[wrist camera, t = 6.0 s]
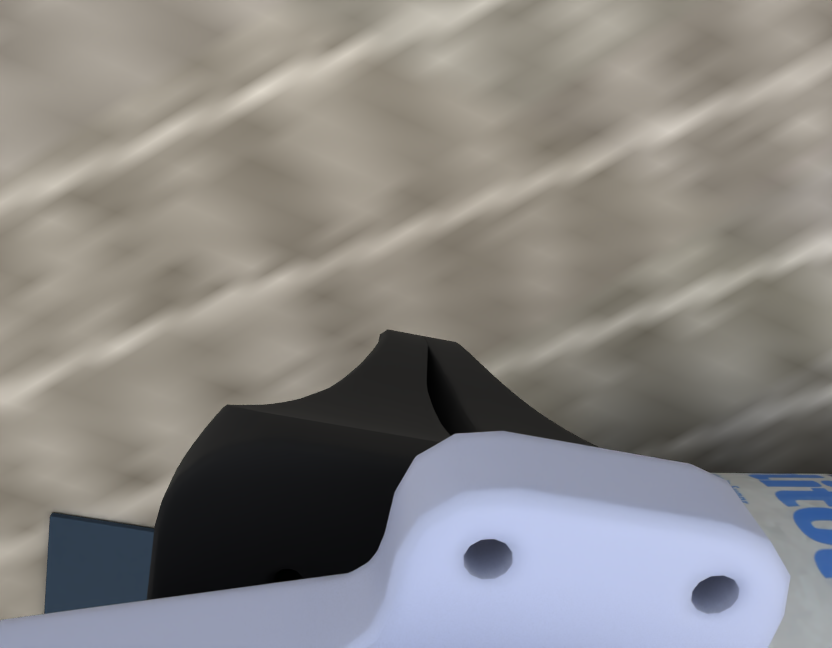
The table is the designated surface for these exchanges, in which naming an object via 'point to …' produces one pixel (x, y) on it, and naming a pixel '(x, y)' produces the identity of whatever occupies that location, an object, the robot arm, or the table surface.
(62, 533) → the desk mat
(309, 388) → the table surface
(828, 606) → the supplement tub
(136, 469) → the table surface
